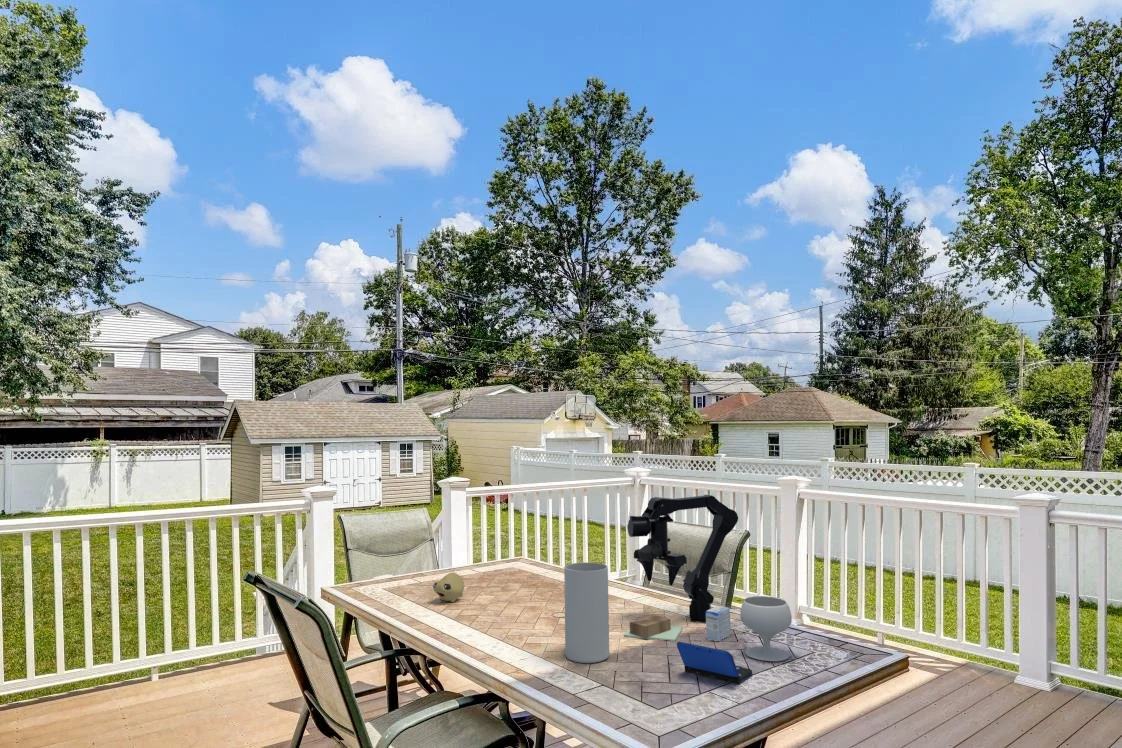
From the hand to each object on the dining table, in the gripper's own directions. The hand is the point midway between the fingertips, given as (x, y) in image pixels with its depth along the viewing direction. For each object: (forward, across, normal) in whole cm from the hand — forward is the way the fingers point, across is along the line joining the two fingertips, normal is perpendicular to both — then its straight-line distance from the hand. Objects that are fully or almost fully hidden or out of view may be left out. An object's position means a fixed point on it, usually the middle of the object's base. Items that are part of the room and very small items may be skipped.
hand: (660, 583), depth 222 cm
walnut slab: (+11, +5, -5) cm, 13 cm away
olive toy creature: (+13, -74, -36) cm, 83 cm away
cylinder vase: (+13, +7, -40) cm, 43 cm away
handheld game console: (+14, +40, -26) cm, 50 cm away
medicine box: (+13, +22, +1) cm, 26 cm away
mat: (+13, +5, -10) cm, 17 cm away
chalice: (+13, +41, -3) cm, 43 cm away
